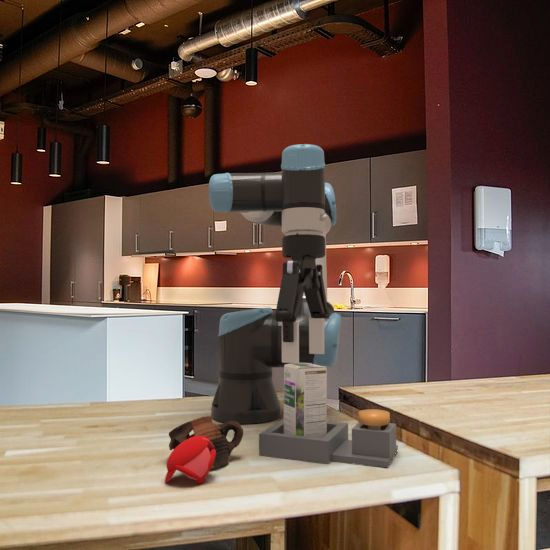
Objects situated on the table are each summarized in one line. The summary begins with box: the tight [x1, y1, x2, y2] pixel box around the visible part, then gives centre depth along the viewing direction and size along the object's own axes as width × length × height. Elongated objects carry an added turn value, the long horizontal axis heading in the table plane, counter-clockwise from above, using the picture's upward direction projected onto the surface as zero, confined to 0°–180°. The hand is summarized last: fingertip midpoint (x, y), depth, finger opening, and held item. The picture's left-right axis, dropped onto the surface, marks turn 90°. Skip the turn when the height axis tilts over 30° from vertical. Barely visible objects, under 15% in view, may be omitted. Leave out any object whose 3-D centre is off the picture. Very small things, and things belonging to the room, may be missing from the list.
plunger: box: [358, 408, 391, 430], centre depth 86 cm, size 5×5×6 cm
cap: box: [164, 436, 216, 484], centre depth 77 cm, size 8×6×6 cm
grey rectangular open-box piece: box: [258, 418, 399, 468], centre depth 89 cm, size 21×12×5 cm, turn 67°
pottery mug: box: [168, 415, 244, 470], centre depth 85 cm, size 12×10×8 cm
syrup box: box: [283, 363, 328, 438], centre depth 91 cm, size 6×6×14 cm
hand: (304, 358), depth 91 cm, fingers open, 13 cm apart
